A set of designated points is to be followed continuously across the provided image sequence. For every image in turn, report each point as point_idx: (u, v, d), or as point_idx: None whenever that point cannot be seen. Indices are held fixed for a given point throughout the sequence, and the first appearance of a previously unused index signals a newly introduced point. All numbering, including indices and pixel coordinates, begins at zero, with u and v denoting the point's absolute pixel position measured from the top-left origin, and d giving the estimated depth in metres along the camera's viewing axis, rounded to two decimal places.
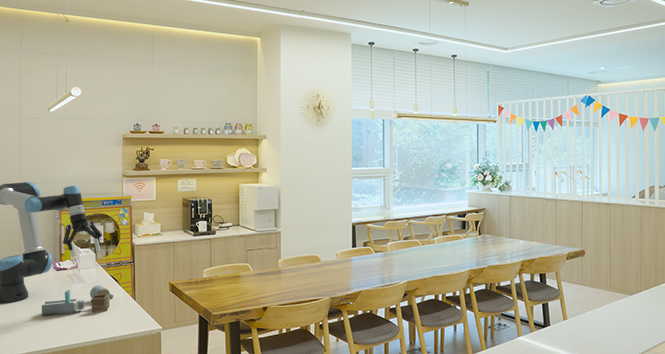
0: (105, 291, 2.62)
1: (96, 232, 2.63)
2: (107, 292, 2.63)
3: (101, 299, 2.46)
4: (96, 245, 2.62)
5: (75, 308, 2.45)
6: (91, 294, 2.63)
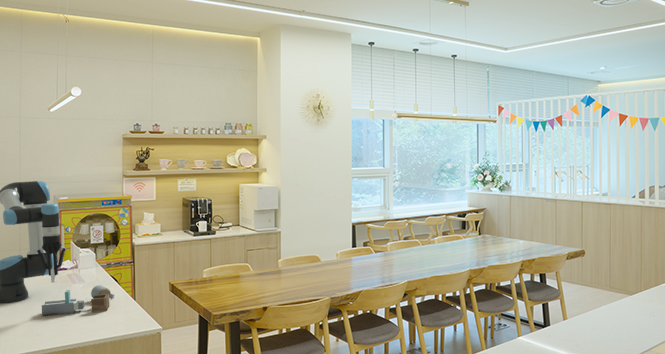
0: (106, 291, 2.63)
1: (59, 260, 2.43)
2: (108, 292, 2.64)
3: (101, 299, 2.46)
4: None
5: (75, 308, 2.45)
6: (92, 294, 2.63)
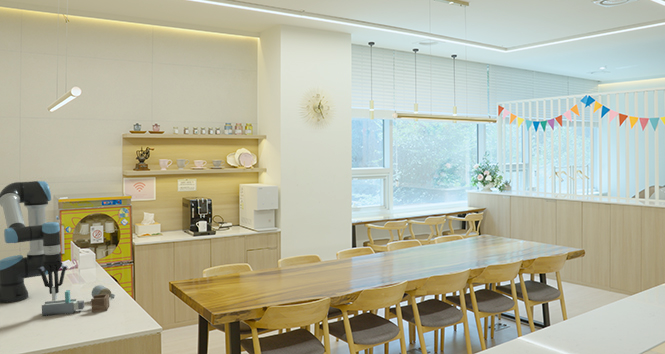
0: (106, 291, 2.63)
1: (60, 278, 2.44)
2: (108, 292, 2.64)
3: (101, 299, 2.46)
4: None
5: (75, 308, 2.45)
6: (92, 294, 2.63)
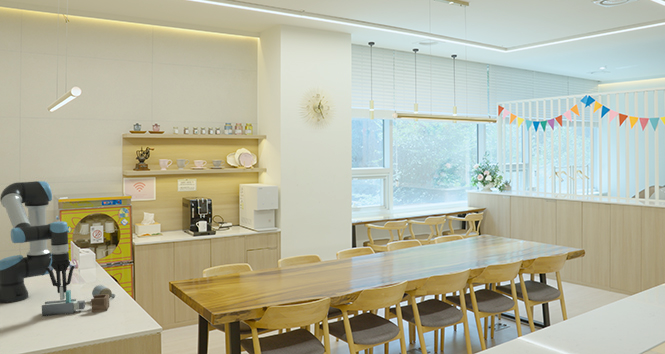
0: (107, 291, 2.63)
1: (68, 278, 2.44)
2: (109, 292, 2.64)
3: (101, 299, 2.46)
4: None
5: (76, 308, 2.45)
6: (93, 293, 2.64)
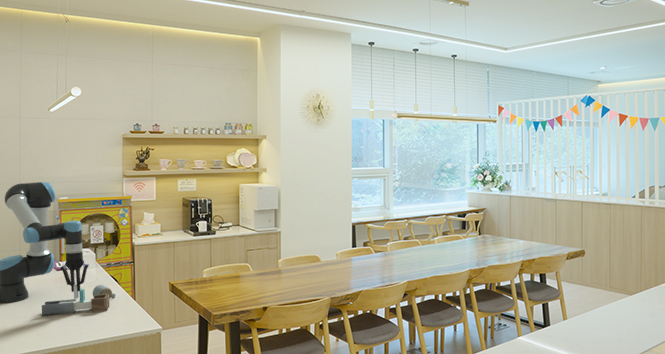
0: (107, 290, 2.63)
1: None
2: (109, 291, 2.64)
3: (101, 299, 2.46)
4: None
5: (89, 307, 2.47)
6: (93, 293, 2.64)
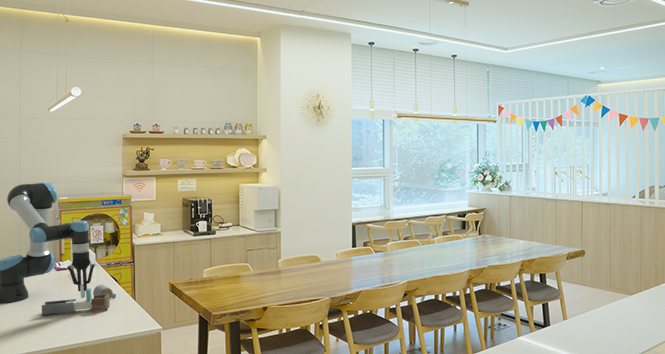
0: (108, 290, 2.64)
1: None
2: (110, 291, 2.65)
3: (101, 299, 2.46)
4: None
5: None
6: (94, 293, 2.64)
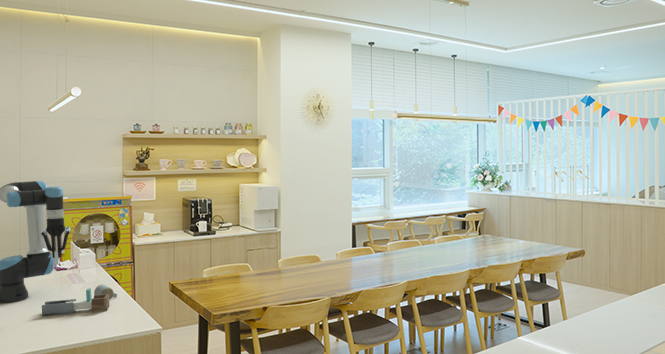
0: (109, 290, 2.64)
1: (63, 243, 2.44)
2: (111, 291, 2.65)
3: (101, 299, 2.46)
4: None
5: None
6: (95, 293, 2.64)
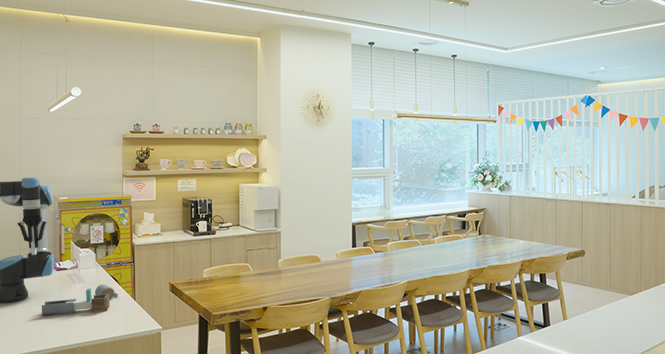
0: (110, 290, 2.64)
1: None
2: (112, 291, 2.65)
3: (101, 299, 2.46)
4: None
5: None
6: (96, 293, 2.65)
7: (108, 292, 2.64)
